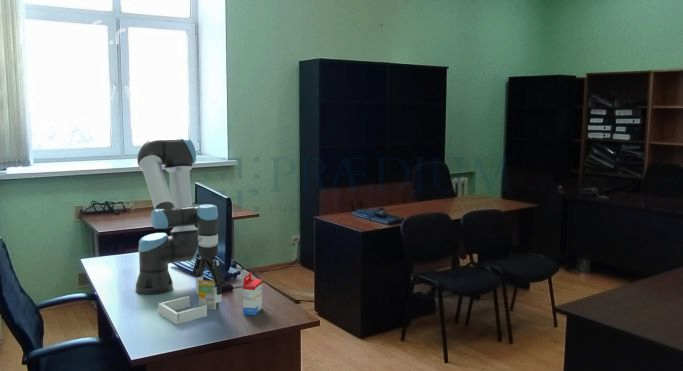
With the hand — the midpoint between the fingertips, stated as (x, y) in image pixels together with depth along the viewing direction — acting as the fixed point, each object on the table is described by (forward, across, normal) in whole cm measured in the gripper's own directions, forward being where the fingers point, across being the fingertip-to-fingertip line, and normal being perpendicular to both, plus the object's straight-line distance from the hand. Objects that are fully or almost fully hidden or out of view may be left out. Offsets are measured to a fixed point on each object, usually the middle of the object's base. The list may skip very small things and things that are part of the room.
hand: (208, 297), depth 227 cm
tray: (+4, 0, -11) cm, 12 cm away
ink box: (+4, +14, +11) cm, 18 cm away
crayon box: (+4, 0, 0) cm, 4 cm away
